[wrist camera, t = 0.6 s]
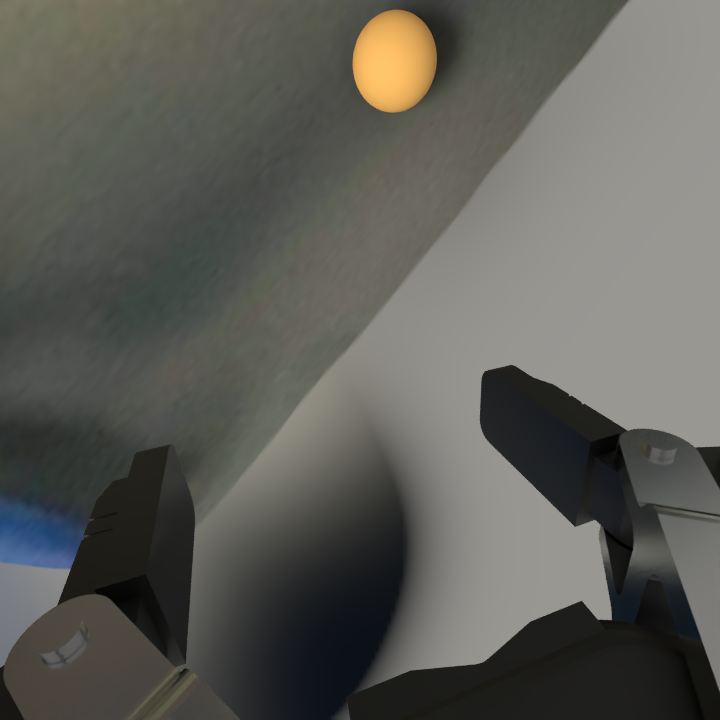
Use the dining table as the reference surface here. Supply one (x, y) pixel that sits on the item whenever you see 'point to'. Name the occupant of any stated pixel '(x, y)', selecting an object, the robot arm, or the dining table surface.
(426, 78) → the ball
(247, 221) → the dining table surface
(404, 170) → the dining table surface
